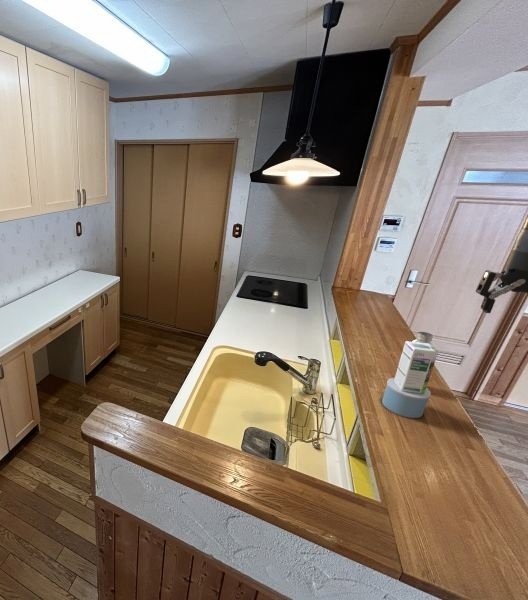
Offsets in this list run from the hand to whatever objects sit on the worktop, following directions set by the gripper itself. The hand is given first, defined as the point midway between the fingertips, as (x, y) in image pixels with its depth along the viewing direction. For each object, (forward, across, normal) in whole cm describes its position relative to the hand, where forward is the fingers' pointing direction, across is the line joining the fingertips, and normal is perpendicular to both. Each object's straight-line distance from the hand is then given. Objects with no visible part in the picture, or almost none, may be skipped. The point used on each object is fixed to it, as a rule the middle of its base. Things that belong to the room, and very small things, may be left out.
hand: (509, 314), depth 79 cm
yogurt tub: (+36, -12, +6) cm, 39 cm away
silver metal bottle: (+36, -7, +21) cm, 43 cm away
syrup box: (+29, -12, +6) cm, 32 cm away
